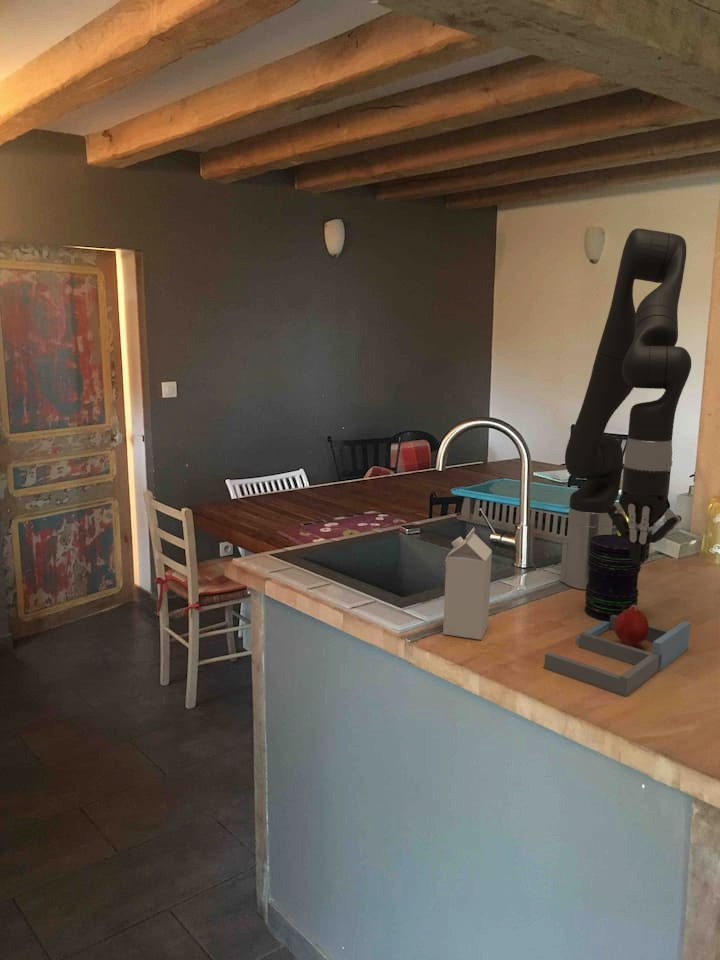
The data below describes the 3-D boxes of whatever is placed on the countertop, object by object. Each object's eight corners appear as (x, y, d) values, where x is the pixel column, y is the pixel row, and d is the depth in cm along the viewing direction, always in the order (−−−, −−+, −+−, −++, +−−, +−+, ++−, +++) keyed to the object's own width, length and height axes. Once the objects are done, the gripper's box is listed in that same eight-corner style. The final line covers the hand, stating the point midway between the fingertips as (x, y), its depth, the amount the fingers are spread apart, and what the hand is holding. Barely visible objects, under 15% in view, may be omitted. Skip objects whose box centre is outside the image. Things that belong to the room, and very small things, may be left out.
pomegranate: (607, 640, 140) (611, 598, 138) (638, 640, 140) (642, 598, 139) (620, 654, 134) (624, 610, 133) (652, 653, 135) (656, 610, 133)
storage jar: (639, 610, 155) (646, 539, 152) (631, 626, 147) (638, 551, 144) (589, 601, 160) (595, 531, 157) (578, 616, 151) (584, 543, 148)
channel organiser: (537, 665, 129) (539, 637, 128) (606, 625, 147) (608, 600, 146) (625, 696, 119) (628, 666, 118) (687, 649, 137) (690, 622, 136)
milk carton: (488, 626, 145) (493, 529, 141) (481, 641, 139) (486, 539, 135) (451, 621, 148) (455, 525, 144) (442, 635, 141) (446, 535, 137)
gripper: (600, 462, 132) (593, 559, 136) (678, 473, 123) (667, 576, 127) (619, 457, 138) (612, 550, 141) (695, 467, 129) (685, 566, 132)
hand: (638, 562), depth 134 cm, fingers closed
